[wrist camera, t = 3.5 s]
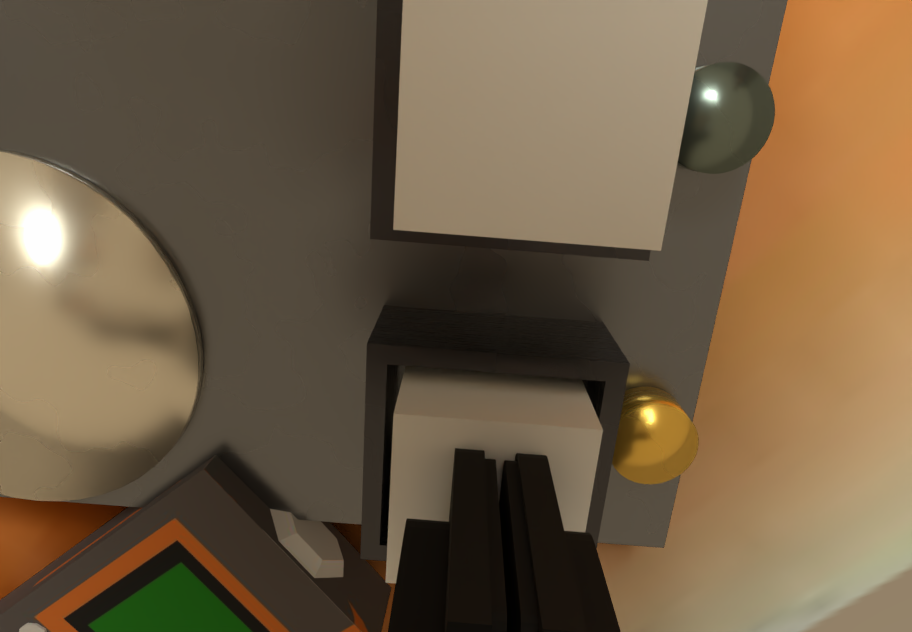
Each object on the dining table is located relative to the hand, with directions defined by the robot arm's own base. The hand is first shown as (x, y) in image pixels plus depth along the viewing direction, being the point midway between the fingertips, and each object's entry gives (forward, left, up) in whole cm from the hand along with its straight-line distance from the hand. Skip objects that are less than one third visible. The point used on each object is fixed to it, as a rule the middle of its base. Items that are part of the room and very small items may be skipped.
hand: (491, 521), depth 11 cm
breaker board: (-4, -6, -6) cm, 9 cm away
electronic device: (+9, -10, -6) cm, 14 cm away
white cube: (0, 0, -3) cm, 4 cm away
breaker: (-7, 0, -2) cm, 8 cm away
